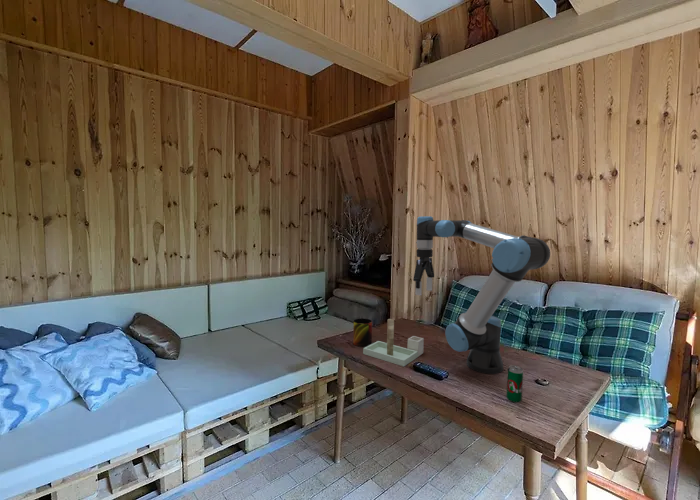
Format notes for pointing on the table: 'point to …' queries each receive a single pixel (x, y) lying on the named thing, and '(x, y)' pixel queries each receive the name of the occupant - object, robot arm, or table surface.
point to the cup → (416, 344)
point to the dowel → (390, 336)
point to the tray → (399, 355)
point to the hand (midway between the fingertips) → (424, 292)
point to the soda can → (514, 383)
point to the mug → (362, 332)
